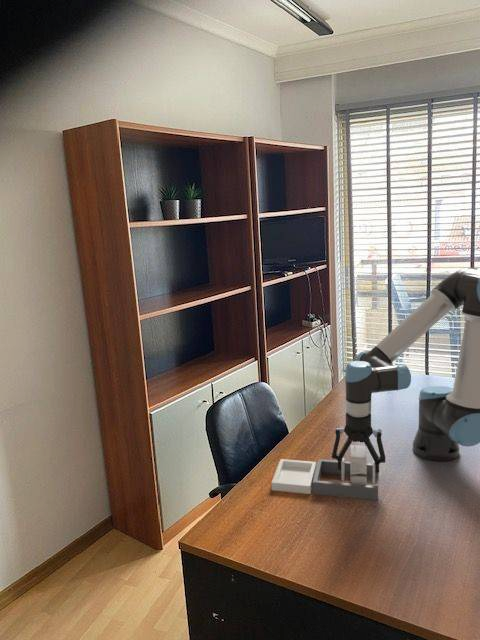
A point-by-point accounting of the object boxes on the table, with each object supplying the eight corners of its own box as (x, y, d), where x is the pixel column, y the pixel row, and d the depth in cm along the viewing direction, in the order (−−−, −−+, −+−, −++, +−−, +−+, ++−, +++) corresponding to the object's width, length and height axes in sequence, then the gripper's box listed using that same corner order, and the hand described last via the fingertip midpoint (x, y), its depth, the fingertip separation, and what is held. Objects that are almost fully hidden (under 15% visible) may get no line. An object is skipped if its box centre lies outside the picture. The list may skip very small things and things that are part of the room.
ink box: (367, 493, 155) (367, 458, 152) (350, 492, 156) (350, 457, 153) (366, 478, 163) (366, 445, 160) (350, 477, 164) (350, 444, 161)
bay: (378, 475, 164) (378, 464, 164) (378, 500, 151) (378, 488, 150) (318, 470, 170) (318, 459, 169) (313, 493, 156) (312, 482, 155)
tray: (316, 469, 170) (316, 461, 169) (310, 494, 156) (310, 486, 155) (280, 466, 173) (280, 458, 173) (271, 490, 159) (271, 482, 159)
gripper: (395, 409, 154) (394, 476, 160) (323, 405, 160) (324, 470, 165) (395, 419, 147) (394, 490, 152) (321, 415, 153) (322, 483, 158)
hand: (358, 479), depth 159 cm, fingers open, 9 cm apart
